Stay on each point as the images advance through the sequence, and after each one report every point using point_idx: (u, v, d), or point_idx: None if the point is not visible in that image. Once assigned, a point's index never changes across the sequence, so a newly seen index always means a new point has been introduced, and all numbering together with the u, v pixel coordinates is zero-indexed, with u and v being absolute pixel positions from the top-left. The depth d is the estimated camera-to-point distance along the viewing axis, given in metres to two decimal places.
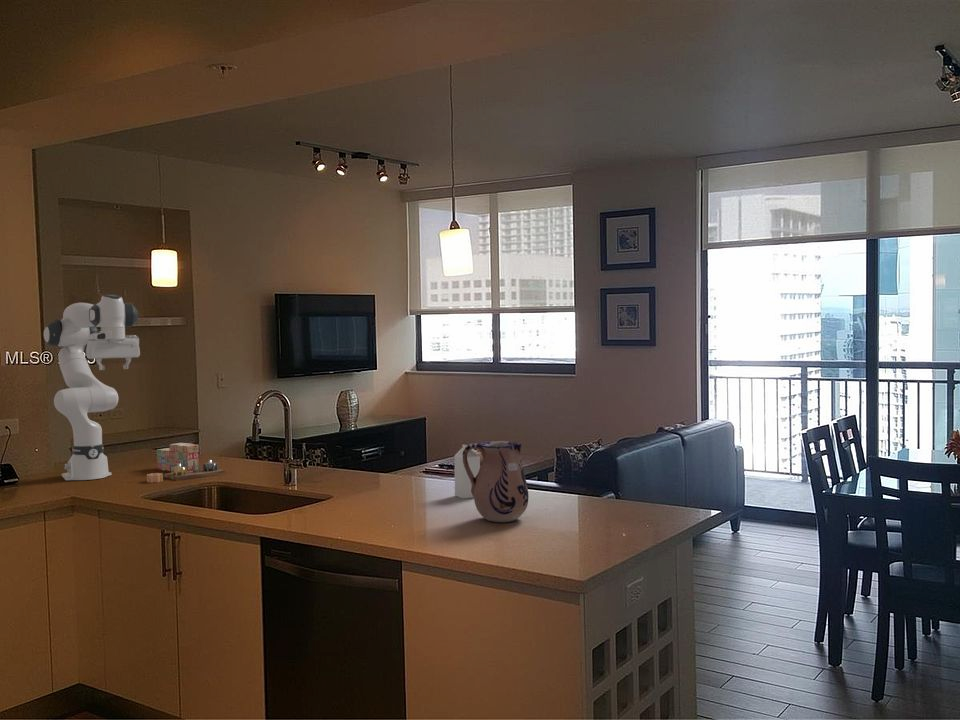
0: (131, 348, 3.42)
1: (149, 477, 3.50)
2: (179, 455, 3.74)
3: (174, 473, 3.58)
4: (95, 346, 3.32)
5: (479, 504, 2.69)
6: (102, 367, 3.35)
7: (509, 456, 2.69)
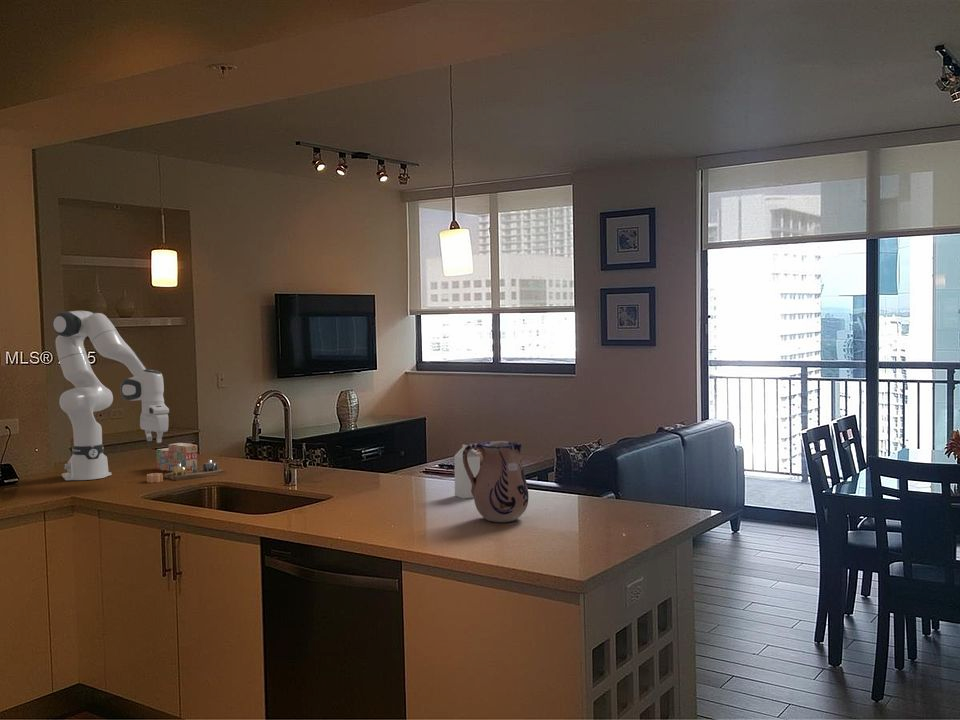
0: None
1: (149, 477, 3.50)
2: (178, 455, 3.74)
3: (174, 473, 3.58)
4: None
5: (479, 504, 2.69)
6: None
7: (509, 456, 2.69)
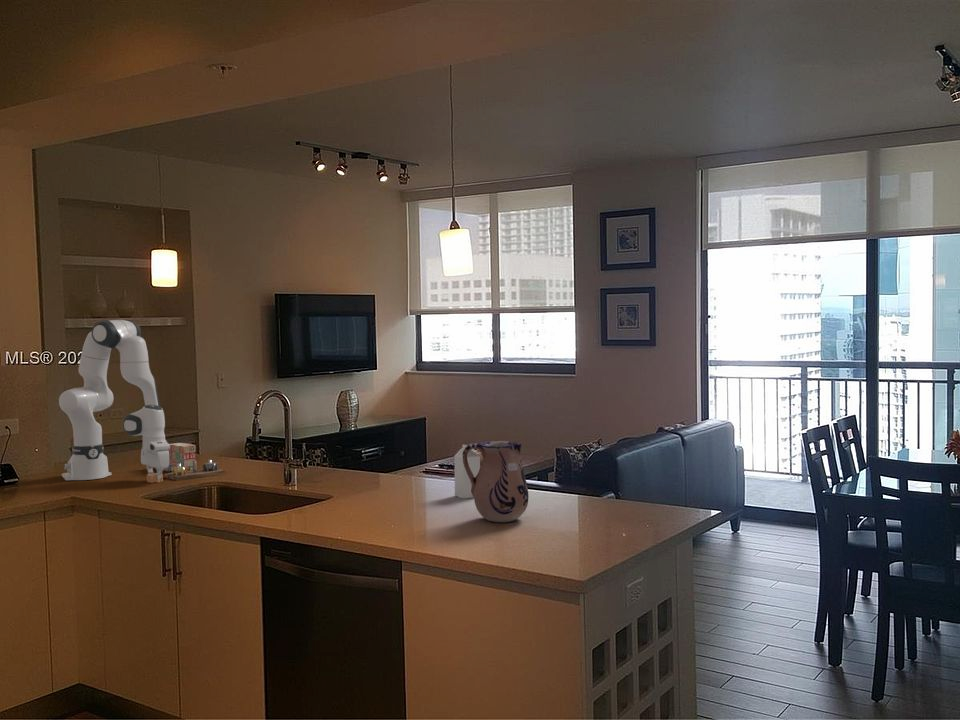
0: None
1: (149, 477, 3.50)
2: (176, 455, 3.74)
3: (174, 473, 3.58)
4: None
5: (479, 504, 2.69)
6: None
7: (509, 456, 2.69)
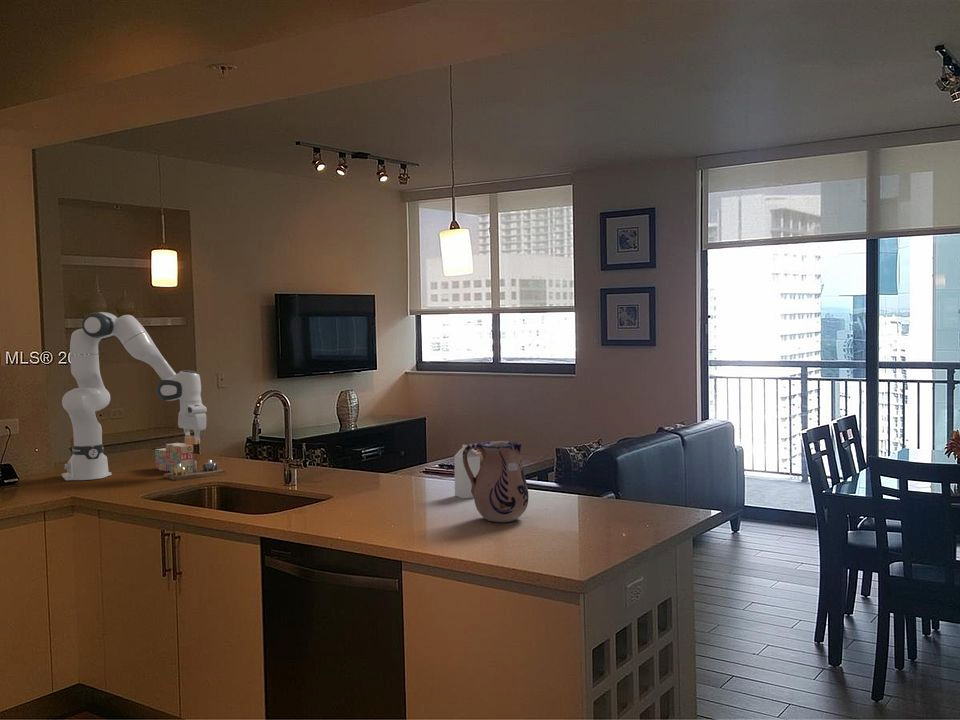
0: None
1: (187, 439, 3.61)
2: (174, 455, 3.74)
3: (174, 473, 3.58)
4: None
5: (479, 504, 2.69)
6: None
7: (509, 456, 2.69)
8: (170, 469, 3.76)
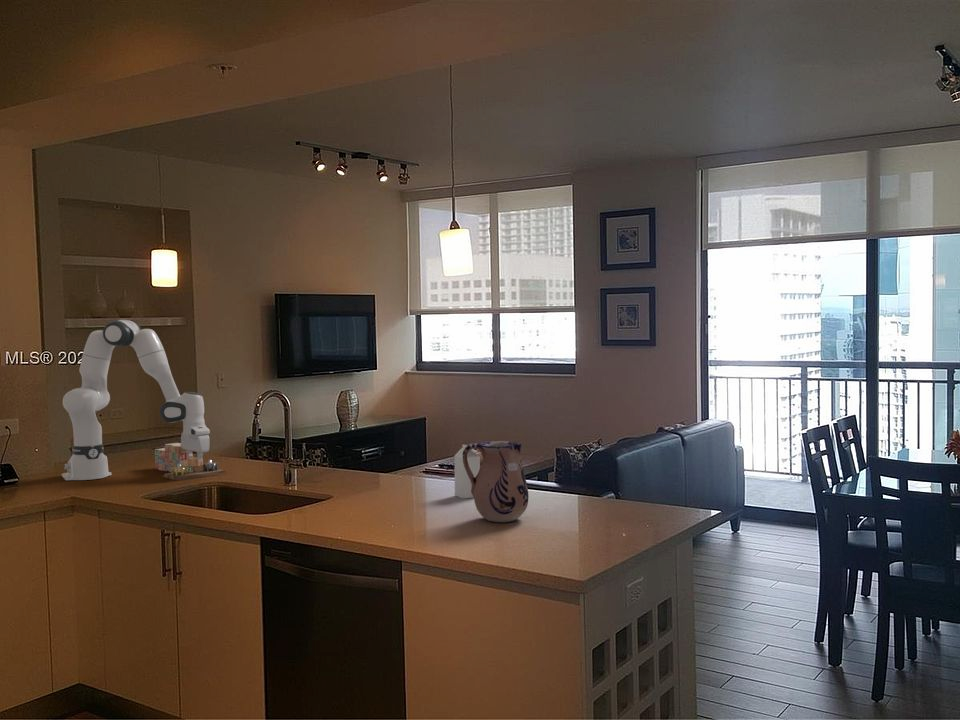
0: None
1: (190, 461, 3.63)
2: (172, 455, 3.74)
3: (174, 473, 3.58)
4: None
5: (479, 504, 2.69)
6: None
7: (509, 456, 2.69)
8: (169, 469, 3.76)
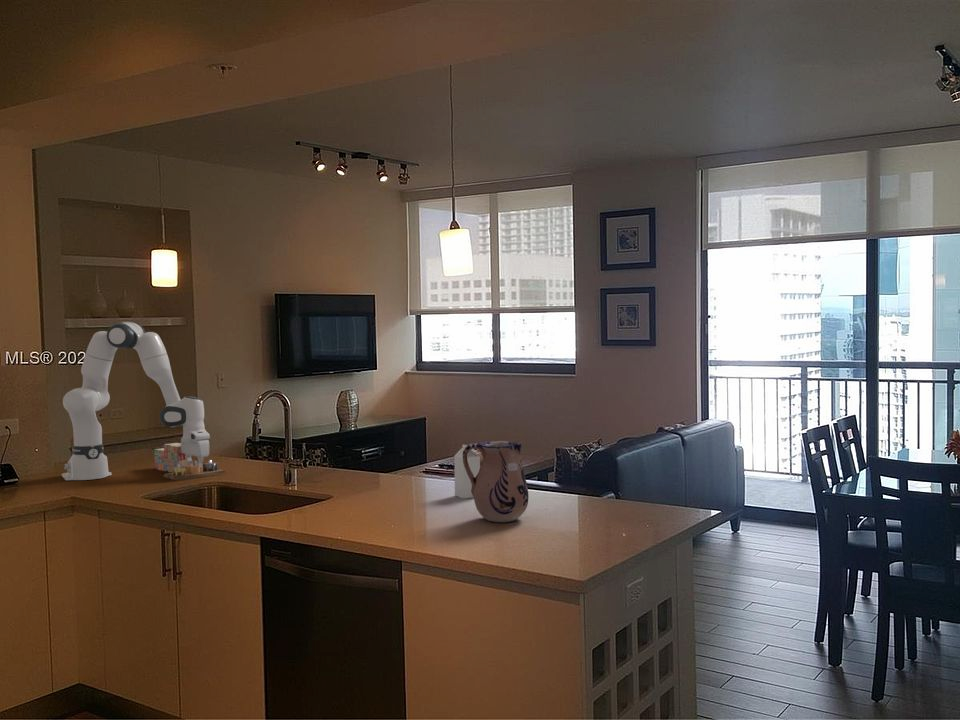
0: None
1: (189, 468, 3.63)
2: (171, 455, 3.74)
3: (174, 473, 3.58)
4: None
5: (479, 504, 2.69)
6: None
7: (509, 456, 2.69)
8: (168, 469, 3.76)
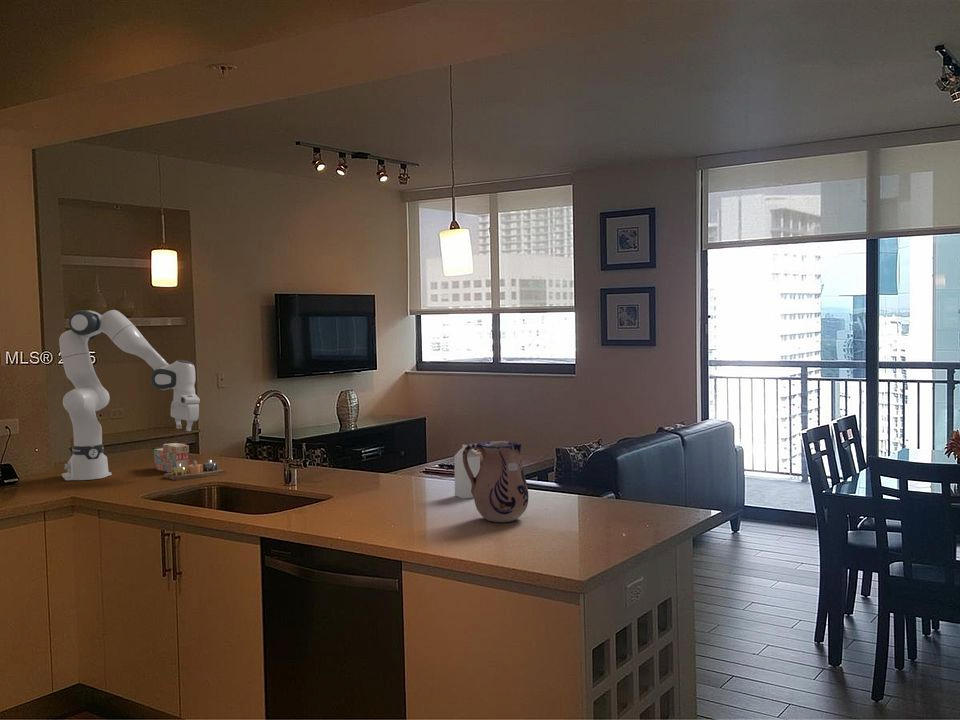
0: None
1: (189, 468, 3.63)
2: (170, 455, 3.74)
3: (174, 473, 3.58)
4: None
5: (479, 504, 2.69)
6: None
7: (509, 456, 2.69)
8: (167, 469, 3.76)
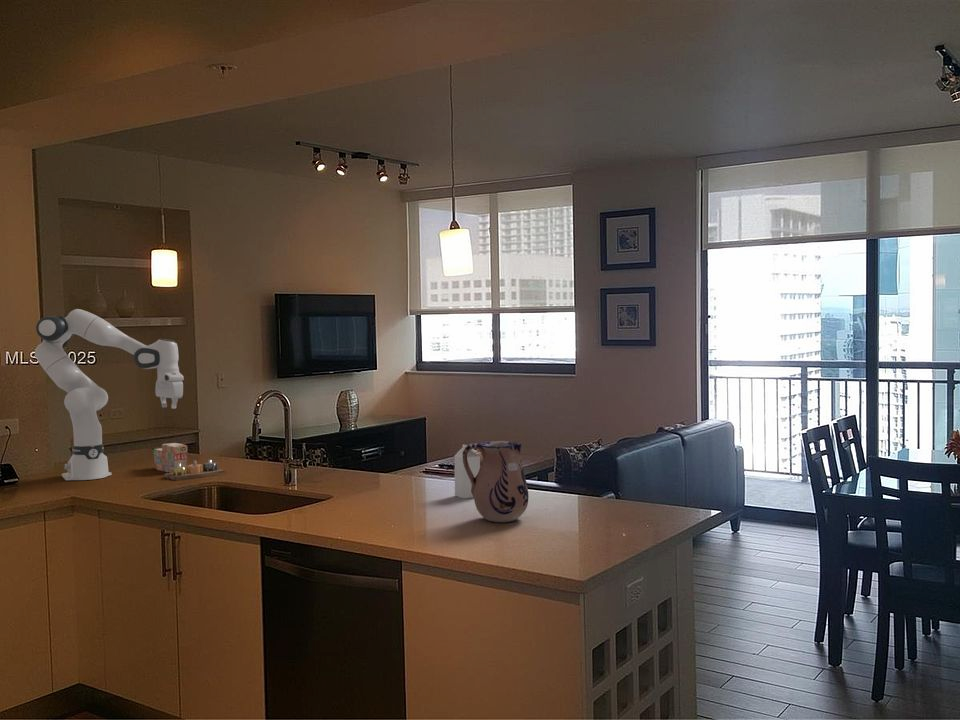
0: None
1: (189, 468, 3.63)
2: (168, 455, 3.74)
3: (174, 473, 3.58)
4: None
5: (479, 504, 2.69)
6: None
7: (509, 456, 2.69)
8: (165, 469, 3.76)
